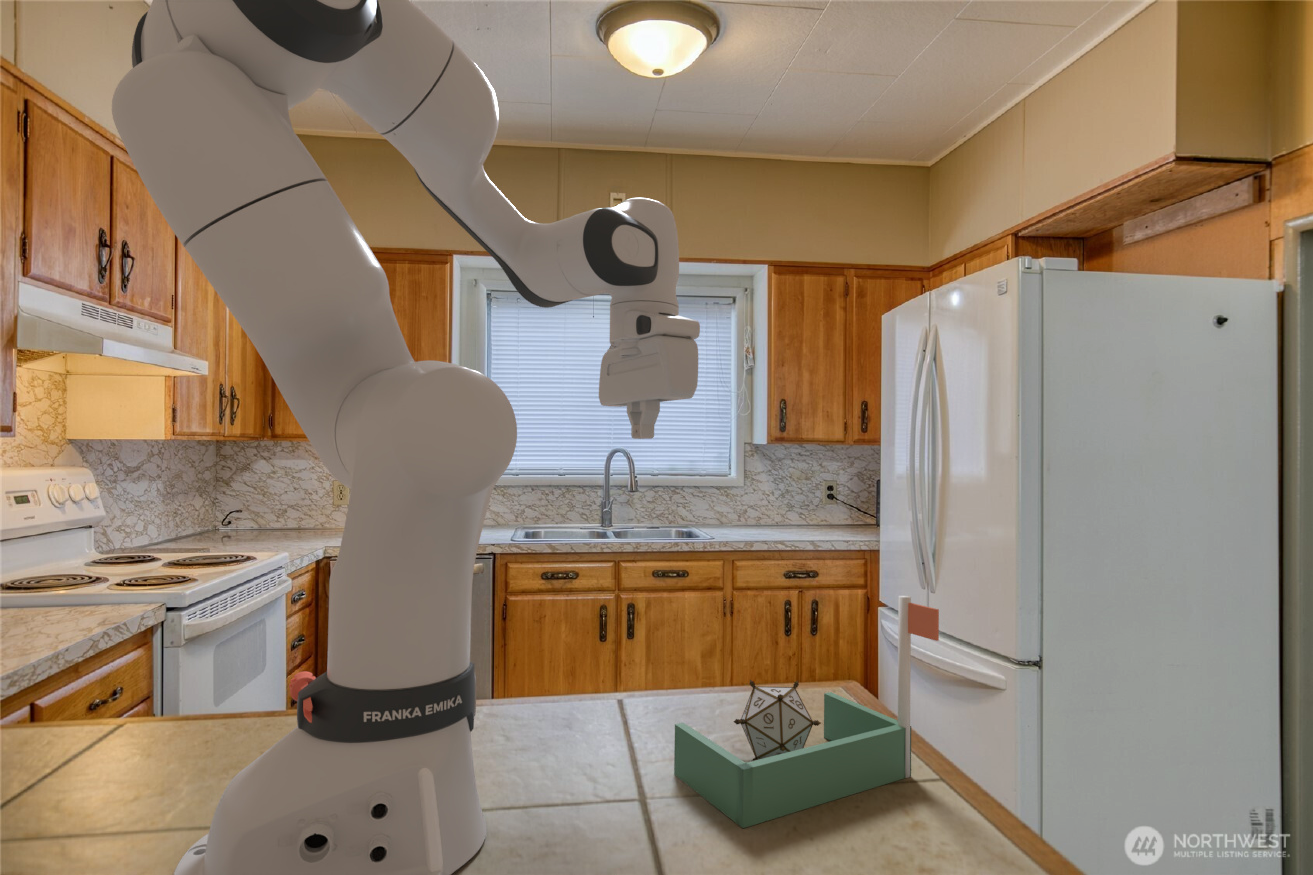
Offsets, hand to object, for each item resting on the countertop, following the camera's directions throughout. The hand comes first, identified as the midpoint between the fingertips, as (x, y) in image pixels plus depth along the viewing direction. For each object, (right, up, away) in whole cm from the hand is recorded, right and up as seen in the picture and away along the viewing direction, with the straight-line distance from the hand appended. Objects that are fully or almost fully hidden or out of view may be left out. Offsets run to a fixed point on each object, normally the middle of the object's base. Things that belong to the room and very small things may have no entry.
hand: (642, 438), depth 90 cm
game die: (+14, -34, -15) cm, 40 cm away
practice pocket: (+16, -34, -21) cm, 43 cm away
